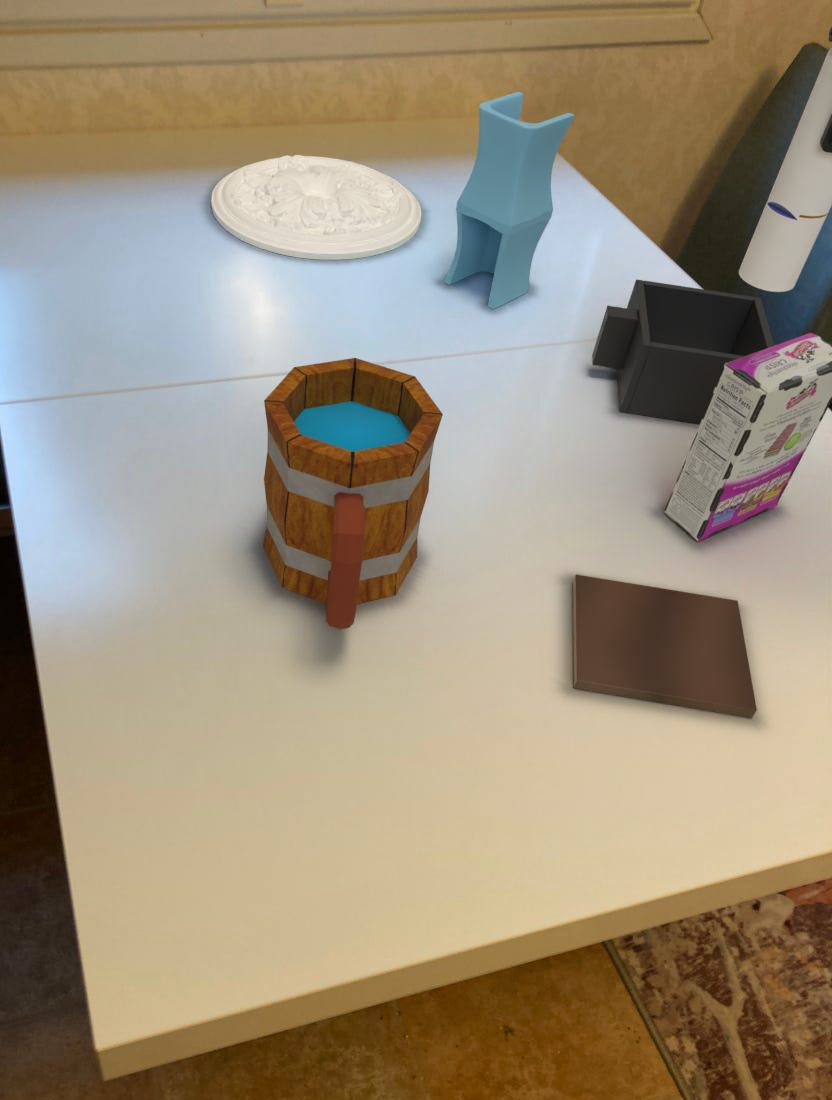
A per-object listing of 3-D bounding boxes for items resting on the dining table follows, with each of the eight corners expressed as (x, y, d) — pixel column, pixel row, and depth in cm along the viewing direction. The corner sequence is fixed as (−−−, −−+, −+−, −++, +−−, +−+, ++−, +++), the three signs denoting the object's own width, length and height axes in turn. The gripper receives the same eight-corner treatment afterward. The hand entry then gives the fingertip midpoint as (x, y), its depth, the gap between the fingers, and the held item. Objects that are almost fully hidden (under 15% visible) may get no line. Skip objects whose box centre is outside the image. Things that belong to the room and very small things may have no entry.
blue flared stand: (533, 289, 115) (575, 114, 100) (493, 309, 111) (530, 130, 96) (485, 264, 118) (518, 91, 103) (444, 282, 114) (473, 105, 99)
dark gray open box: (732, 362, 107) (760, 297, 101) (747, 431, 98) (780, 365, 92) (587, 340, 108) (607, 274, 102) (589, 407, 99) (611, 339, 93)
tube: (793, 270, 73) (891, 54, 62) (796, 296, 70) (900, 75, 59) (737, 259, 73) (825, 43, 62) (739, 285, 71) (831, 63, 59)
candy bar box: (738, 478, 93) (812, 329, 80) (776, 508, 90) (859, 358, 78) (658, 512, 88) (723, 359, 76) (696, 544, 86) (770, 391, 73)
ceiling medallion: (273, 148, 136) (274, 124, 134) (450, 197, 130) (454, 174, 128) (170, 220, 119) (169, 195, 116) (369, 281, 113) (371, 256, 110)
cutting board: (733, 608, 80) (738, 600, 80) (752, 718, 72) (757, 710, 72) (572, 582, 81) (575, 574, 80) (573, 688, 73) (576, 680, 72)
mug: (268, 496, 85) (270, 350, 74) (414, 506, 86) (438, 364, 75) (249, 660, 72) (248, 515, 61) (421, 671, 73) (452, 529, 62)
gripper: (1088, -162, 46) (907, 189, 59) (1003, -201, 56) (862, 108, 69) (935, -182, 47) (788, 171, 60) (876, -218, 56) (760, 94, 69)
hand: (828, 136), depth 64 cm, fingers closed on tube, 4 cm apart
